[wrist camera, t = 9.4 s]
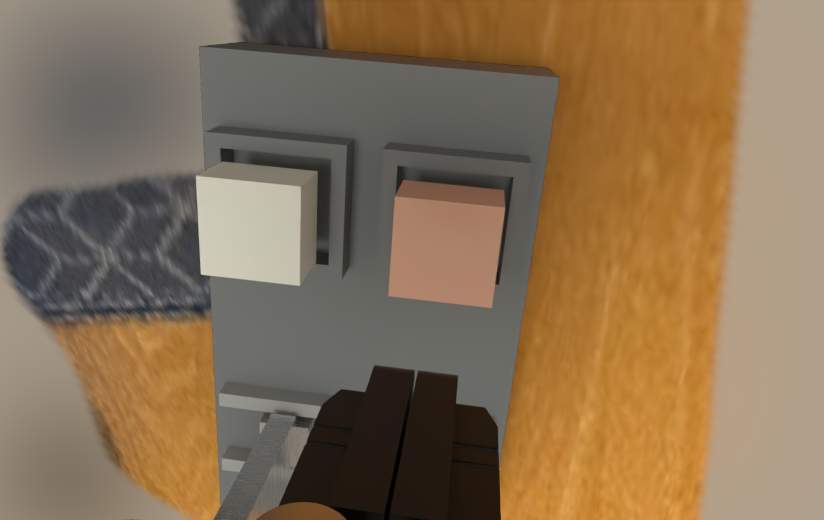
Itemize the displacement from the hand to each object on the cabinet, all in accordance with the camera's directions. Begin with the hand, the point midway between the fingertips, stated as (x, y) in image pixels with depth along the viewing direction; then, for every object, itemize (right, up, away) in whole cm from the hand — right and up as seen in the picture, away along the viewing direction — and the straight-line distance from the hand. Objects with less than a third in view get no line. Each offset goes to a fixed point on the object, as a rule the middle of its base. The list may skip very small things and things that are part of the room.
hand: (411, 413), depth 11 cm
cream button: (-5, +4, +10) cm, 12 cm away
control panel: (-2, +1, +17) cm, 17 cm away
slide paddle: (-5, -4, +15) cm, 16 cm away
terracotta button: (+1, +4, +9) cm, 10 cm away
